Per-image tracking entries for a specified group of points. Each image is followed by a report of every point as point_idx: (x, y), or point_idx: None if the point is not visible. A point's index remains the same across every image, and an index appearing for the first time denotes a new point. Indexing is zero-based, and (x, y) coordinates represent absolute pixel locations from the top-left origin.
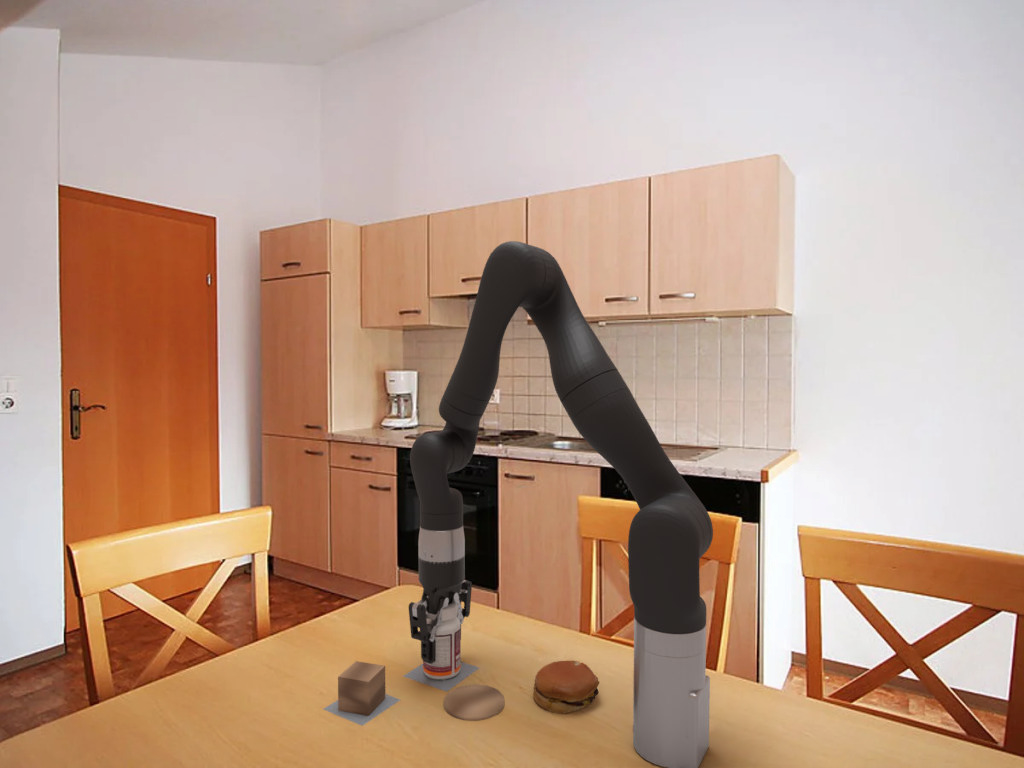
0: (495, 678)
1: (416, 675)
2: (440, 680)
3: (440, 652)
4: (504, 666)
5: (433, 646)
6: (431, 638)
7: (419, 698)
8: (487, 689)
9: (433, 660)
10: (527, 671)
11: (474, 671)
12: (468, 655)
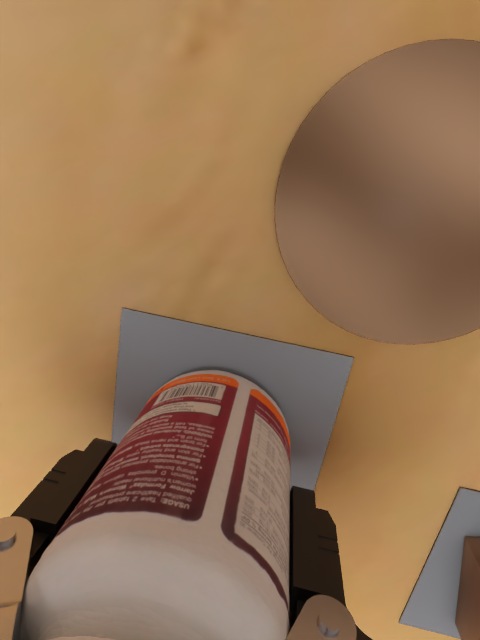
0: (170, 208)
1: None
2: None
3: (282, 497)
4: (59, 212)
5: (311, 559)
6: (346, 626)
7: (428, 433)
8: (307, 187)
9: (308, 495)
10: (45, 82)
11: (160, 317)
12: (55, 388)
